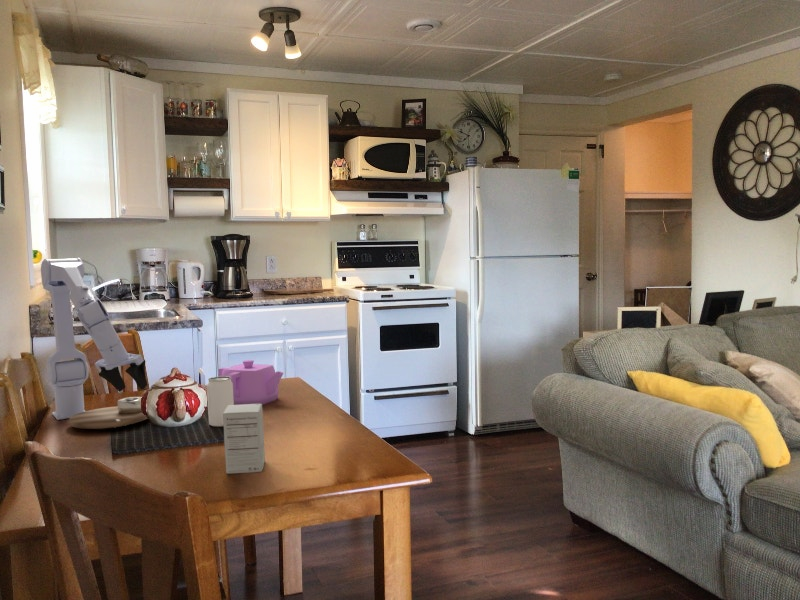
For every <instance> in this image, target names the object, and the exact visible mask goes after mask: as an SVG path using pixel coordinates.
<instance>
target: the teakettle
mask: <svg viewBox="0 0 800 600" xmlns="http://www.w3.org/2000/svg"><path fill="white" fill-rule="evenodd" d="M275 370H276V369H275V367H274V364H273V365H272V364H262V363H261V364H260V363H254V360H253V359H245V360H243V361H242V363H240V364H236V365H233V366H229V367H220V368H219V367H218V376H217V377H221V376H227V377H231V378H230V379H231V381H232V384H233V400H234V405H242V404H262V406H264V405H266V404H269V403H272V402H274V401H277V399H278V397H279V384H280V381H281V380H282V377H283V375H284V372H283V371H280V370H278V371H275Z"/></svg>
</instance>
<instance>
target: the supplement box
mask: <svg viewBox="0 0 800 600" xmlns="http://www.w3.org/2000/svg"><path fill="white" fill-rule="evenodd" d="M263 417H264V416H263V405H262V404H242V405H228V406H227V408H226V410H225V411H224V413H223V423H224V427H223V439H224V457H225V458H224V459H225V472H226V474H242V473H243V474H247V473H248V474H249V473H261V472H263V468H264V466H265V462H266V456H265V455H266V454H265V453H266V451H265V433H264V418H263Z"/></svg>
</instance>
